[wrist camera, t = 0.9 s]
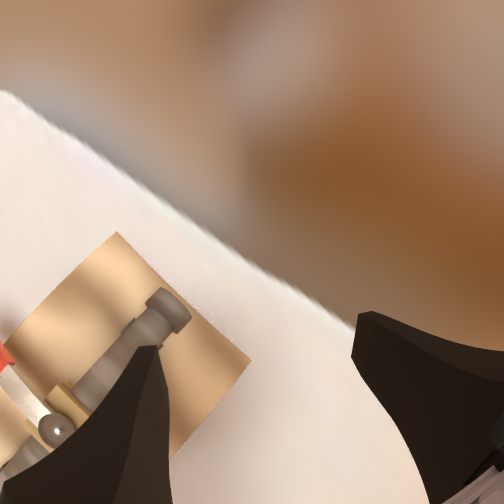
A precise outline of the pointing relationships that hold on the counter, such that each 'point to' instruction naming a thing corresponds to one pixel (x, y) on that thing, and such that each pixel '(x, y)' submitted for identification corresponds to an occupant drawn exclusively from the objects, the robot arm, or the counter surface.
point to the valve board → (99, 328)
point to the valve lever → (33, 403)
